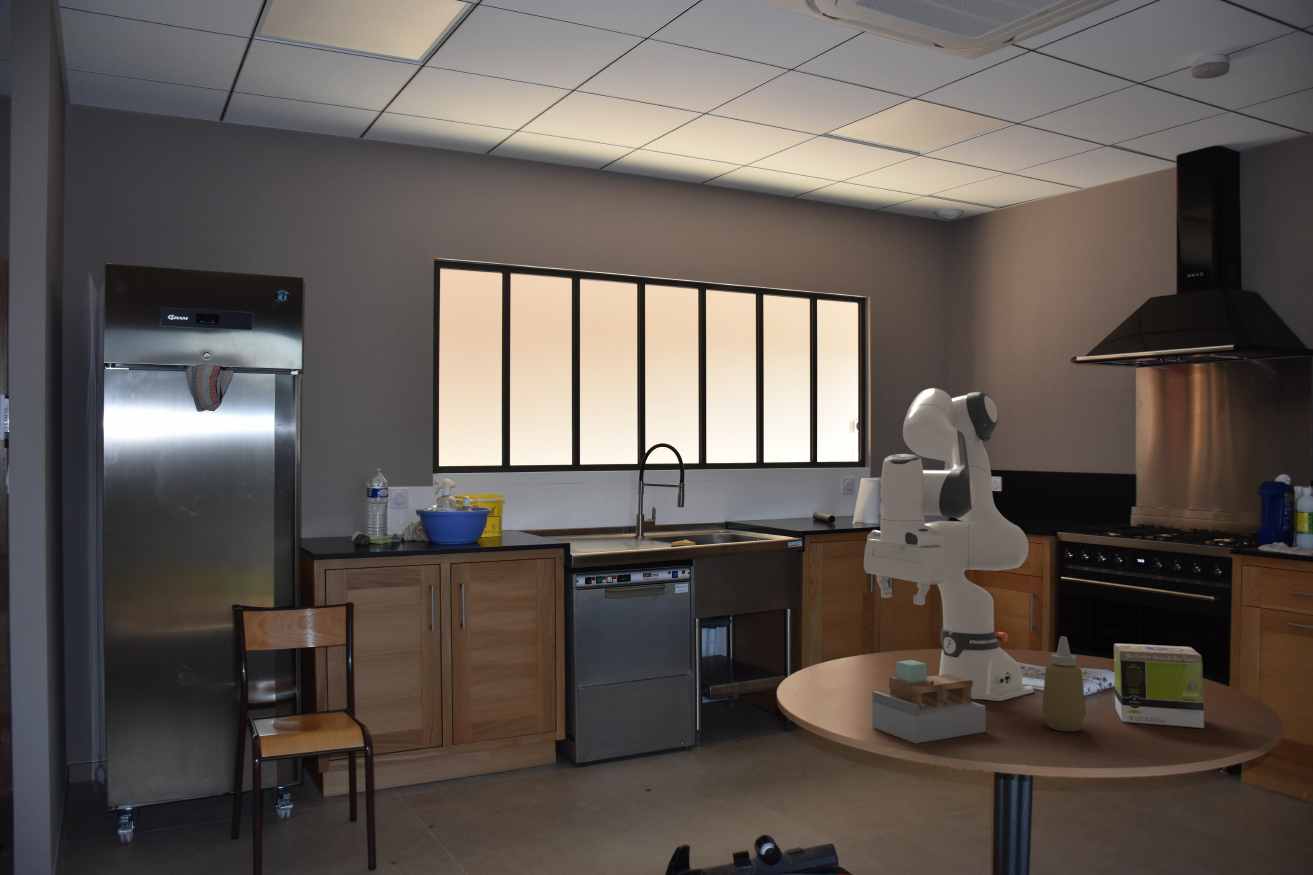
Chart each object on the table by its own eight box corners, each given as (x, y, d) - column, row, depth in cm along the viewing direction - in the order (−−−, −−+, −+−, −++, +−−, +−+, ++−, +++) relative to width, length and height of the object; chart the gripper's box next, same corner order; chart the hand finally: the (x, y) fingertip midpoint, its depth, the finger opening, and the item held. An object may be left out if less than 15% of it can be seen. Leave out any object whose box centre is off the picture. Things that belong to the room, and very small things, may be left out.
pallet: (950, 695, 190) (950, 669, 190) (972, 702, 185) (972, 675, 185) (889, 704, 183) (889, 677, 183) (910, 711, 178) (910, 683, 178)
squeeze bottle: (1083, 736, 180) (1082, 642, 180) (1038, 729, 184) (1038, 637, 184) (1089, 726, 186) (1088, 635, 187) (1045, 720, 191) (1045, 631, 191)
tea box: (1193, 717, 194) (1193, 645, 195) (1204, 730, 185) (1204, 654, 185) (1113, 710, 199) (1113, 640, 200) (1120, 722, 190) (1120, 649, 190)
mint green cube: (911, 680, 184) (911, 659, 185) (926, 684, 181) (926, 663, 181) (896, 682, 183) (896, 661, 183) (910, 686, 179) (910, 665, 179)
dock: (940, 716, 193) (940, 682, 193) (985, 731, 182) (985, 695, 182) (872, 727, 185) (872, 691, 185) (915, 743, 174) (915, 705, 174)
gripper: (856, 529, 199) (856, 594, 199) (927, 538, 181) (927, 609, 181) (879, 528, 202) (879, 592, 202) (950, 537, 184) (950, 607, 184)
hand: (902, 600), depth 192 cm, fingers open, 8 cm apart
